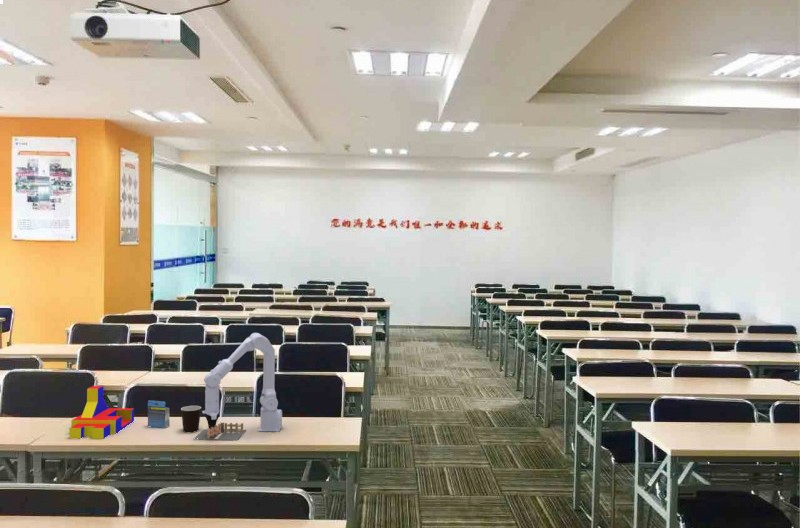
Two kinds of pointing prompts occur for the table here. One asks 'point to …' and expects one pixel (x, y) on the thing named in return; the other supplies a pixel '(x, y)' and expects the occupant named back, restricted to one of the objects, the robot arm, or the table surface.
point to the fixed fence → (224, 430)
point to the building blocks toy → (100, 417)
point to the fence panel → (216, 428)
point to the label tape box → (158, 414)
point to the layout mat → (220, 435)
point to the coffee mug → (191, 418)
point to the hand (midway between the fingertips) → (212, 431)
